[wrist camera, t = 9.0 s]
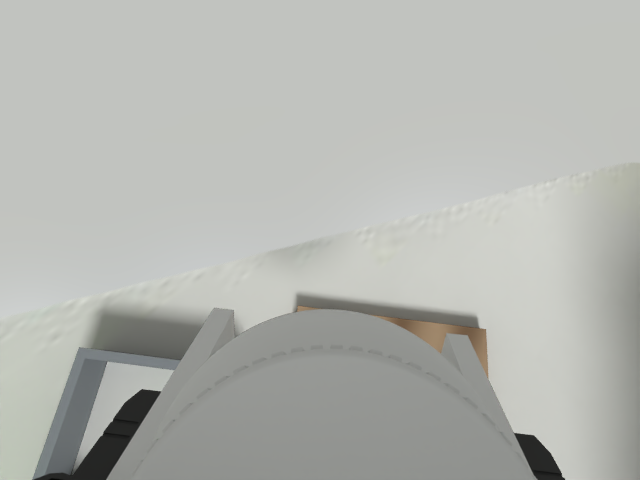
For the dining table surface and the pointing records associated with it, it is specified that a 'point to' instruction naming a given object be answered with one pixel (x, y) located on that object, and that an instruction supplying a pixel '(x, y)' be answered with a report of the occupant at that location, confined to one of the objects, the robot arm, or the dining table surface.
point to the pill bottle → (329, 409)
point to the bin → (83, 405)
